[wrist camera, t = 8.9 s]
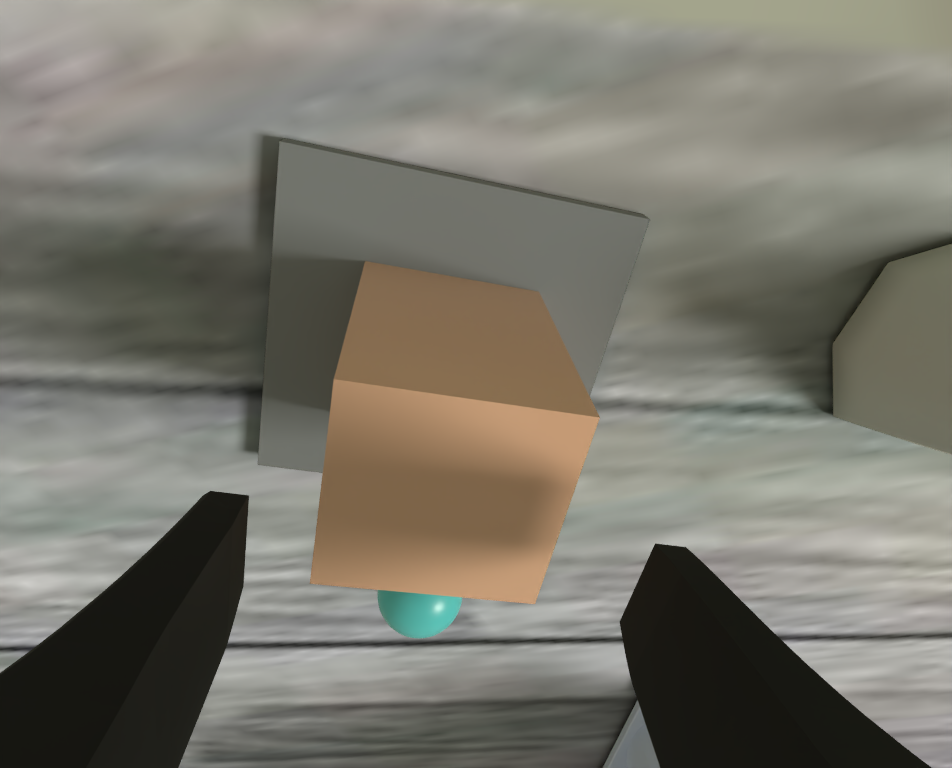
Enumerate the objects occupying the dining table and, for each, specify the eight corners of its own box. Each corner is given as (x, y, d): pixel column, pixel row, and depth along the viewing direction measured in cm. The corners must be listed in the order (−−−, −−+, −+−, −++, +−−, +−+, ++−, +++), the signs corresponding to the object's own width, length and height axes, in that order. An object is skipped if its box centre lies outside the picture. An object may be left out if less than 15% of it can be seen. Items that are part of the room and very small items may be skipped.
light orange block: (500, 435, 20) (534, 603, 14) (345, 414, 19) (309, 583, 13) (538, 291, 18) (599, 418, 12) (365, 261, 17) (333, 378, 11)
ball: (451, 594, 24) (455, 660, 22) (374, 587, 24) (369, 653, 21) (467, 536, 23) (473, 599, 20) (386, 527, 22) (381, 590, 20)
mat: (550, 491, 22) (553, 502, 22) (261, 454, 21) (257, 464, 20) (643, 214, 18) (649, 219, 17) (284, 138, 16) (279, 141, 16)
